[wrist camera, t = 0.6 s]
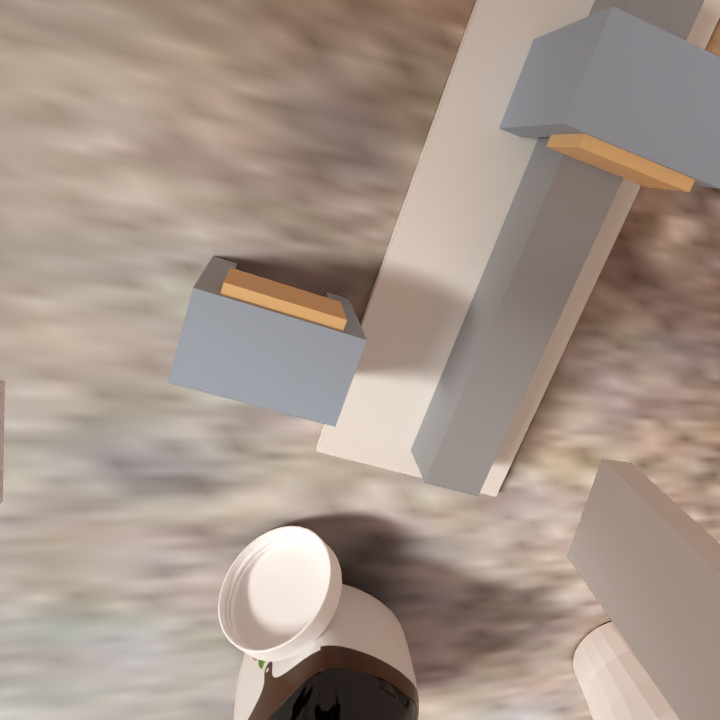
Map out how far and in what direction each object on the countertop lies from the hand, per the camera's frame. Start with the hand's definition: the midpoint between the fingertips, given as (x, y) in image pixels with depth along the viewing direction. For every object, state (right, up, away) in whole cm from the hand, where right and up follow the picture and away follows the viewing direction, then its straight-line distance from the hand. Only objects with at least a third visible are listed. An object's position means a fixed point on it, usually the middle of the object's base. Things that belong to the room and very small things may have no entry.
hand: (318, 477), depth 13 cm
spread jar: (-3, -12, +24) cm, 27 cm away
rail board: (+8, +8, +18) cm, 21 cm away
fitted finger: (+11, +14, +15) cm, 24 cm away
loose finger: (-4, +5, +17) cm, 18 cm away
